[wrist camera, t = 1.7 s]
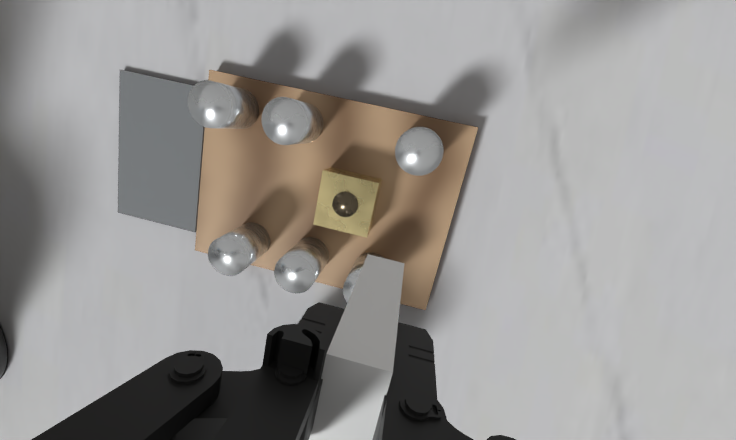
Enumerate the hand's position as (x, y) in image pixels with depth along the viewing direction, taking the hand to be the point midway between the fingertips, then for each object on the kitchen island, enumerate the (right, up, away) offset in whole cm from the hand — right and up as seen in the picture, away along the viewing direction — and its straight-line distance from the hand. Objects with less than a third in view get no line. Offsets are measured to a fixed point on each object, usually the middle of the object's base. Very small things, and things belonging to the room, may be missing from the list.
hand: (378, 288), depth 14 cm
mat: (-19, +9, +17) cm, 27 cm away
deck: (-4, +5, +16) cm, 18 cm away
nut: (-2, +5, +15) cm, 16 cm away
